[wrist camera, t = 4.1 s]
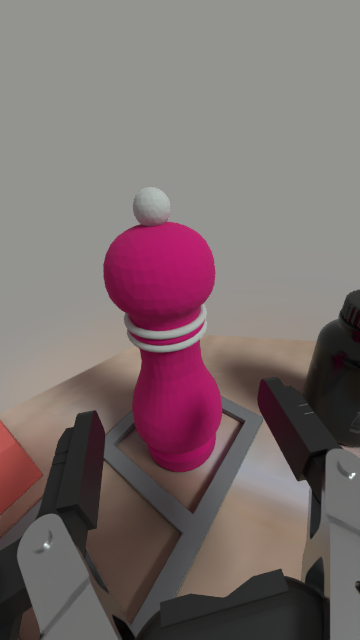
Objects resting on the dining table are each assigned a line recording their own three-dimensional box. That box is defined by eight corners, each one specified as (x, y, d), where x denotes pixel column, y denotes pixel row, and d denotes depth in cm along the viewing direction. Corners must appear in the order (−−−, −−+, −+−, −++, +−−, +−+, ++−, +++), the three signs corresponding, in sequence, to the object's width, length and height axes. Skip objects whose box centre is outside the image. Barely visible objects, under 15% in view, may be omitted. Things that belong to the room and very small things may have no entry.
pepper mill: (132, 422, 23) (60, 193, 12) (195, 392, 26) (183, 179, 15) (160, 499, 18) (74, 203, 7) (238, 451, 20) (268, 179, 9)
